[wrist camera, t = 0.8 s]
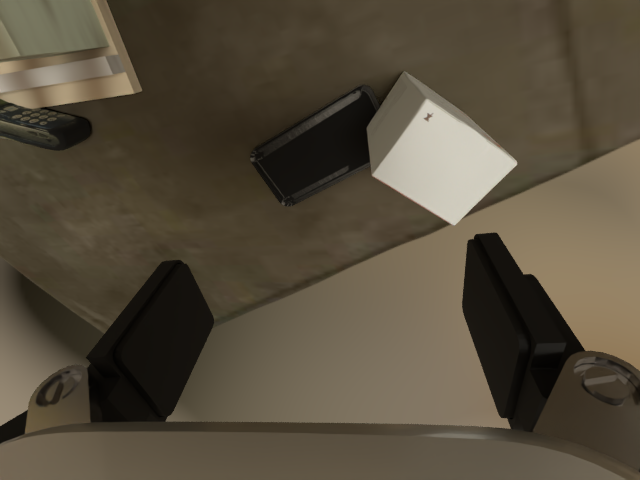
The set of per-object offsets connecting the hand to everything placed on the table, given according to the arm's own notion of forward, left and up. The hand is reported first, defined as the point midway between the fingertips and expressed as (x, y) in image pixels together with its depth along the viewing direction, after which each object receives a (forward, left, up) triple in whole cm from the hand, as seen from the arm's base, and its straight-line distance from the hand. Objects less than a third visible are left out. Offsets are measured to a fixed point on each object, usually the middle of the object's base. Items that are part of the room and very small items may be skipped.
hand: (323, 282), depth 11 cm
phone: (+4, -3, -28) cm, 28 cm away
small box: (+2, +7, -28) cm, 28 cm away
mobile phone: (-4, -36, -27) cm, 45 cm away
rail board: (-11, -31, -27) cm, 43 cm away
